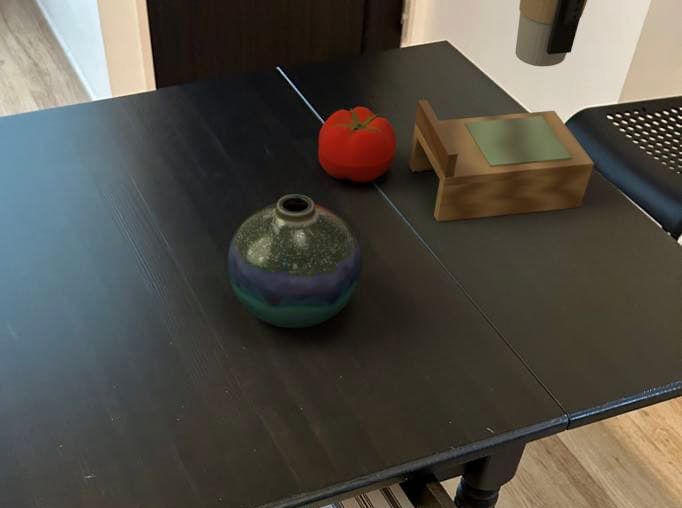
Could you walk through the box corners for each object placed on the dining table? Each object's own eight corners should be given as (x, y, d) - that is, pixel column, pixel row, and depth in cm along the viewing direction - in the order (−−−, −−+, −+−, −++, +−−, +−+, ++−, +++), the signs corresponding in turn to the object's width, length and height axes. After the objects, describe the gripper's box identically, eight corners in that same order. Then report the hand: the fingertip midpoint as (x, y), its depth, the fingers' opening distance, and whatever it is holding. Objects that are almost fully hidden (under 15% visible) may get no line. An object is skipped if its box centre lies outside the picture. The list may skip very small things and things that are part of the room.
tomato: (381, 198, 112) (387, 144, 106) (305, 183, 115) (307, 129, 109) (401, 159, 118) (408, 106, 112) (329, 145, 120) (332, 93, 114)
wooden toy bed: (542, 153, 119) (560, 87, 112) (580, 207, 111) (601, 140, 104) (409, 166, 117) (418, 100, 110) (437, 222, 109) (448, 154, 102)
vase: (263, 255, 105) (262, 153, 94) (376, 287, 101) (388, 185, 90) (206, 325, 96) (197, 223, 86) (326, 364, 93) (333, 261, 82)
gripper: (531, -244, 85) (486, 1, 104) (614, -188, 73) (546, 79, 92) (600, -247, 86) (543, -3, 105) (693, -192, 74) (610, 73, 92)
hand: (544, 35), depth 98 cm, fingers closed on coffee cup, 8 cm apart
